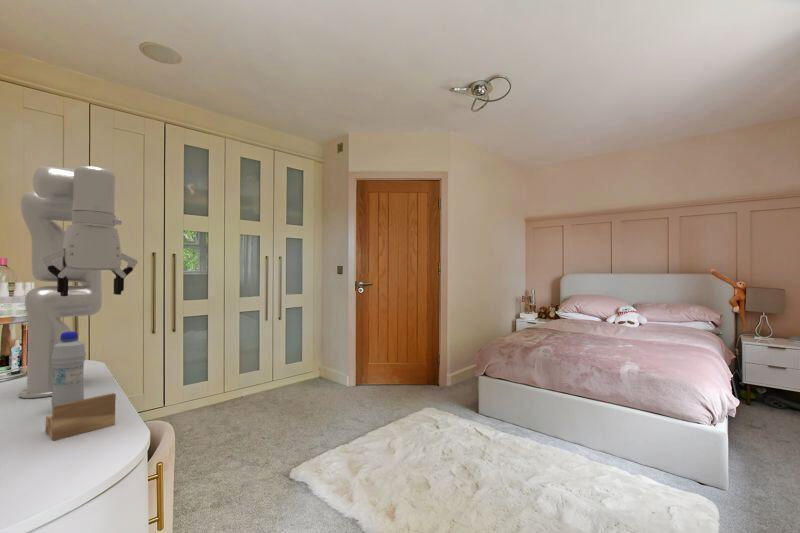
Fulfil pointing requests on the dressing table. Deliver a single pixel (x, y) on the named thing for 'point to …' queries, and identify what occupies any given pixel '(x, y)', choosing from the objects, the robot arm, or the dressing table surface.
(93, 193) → the robot arm
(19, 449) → the dressing table surface
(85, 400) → the wooden u-shaped piece
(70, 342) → the bottle
